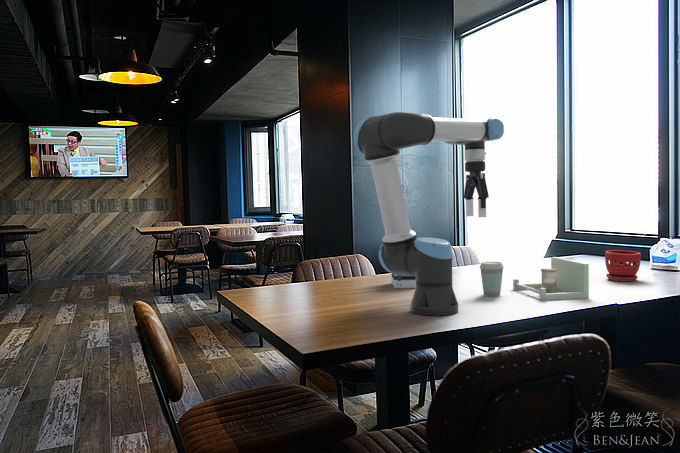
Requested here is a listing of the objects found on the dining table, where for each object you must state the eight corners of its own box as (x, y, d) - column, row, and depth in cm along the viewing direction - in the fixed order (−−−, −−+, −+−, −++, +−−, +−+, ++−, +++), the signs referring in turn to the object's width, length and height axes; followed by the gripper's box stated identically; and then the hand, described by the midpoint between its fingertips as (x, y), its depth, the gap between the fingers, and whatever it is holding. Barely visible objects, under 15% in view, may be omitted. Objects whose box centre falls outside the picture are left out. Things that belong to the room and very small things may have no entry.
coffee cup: (505, 297, 192) (504, 264, 191) (480, 297, 194) (480, 264, 193) (502, 293, 200) (502, 261, 200) (479, 293, 202) (478, 261, 202)
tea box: (419, 288, 217) (418, 252, 216) (394, 289, 217) (393, 252, 216) (414, 282, 232) (413, 248, 231) (391, 283, 232) (390, 249, 231)
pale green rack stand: (541, 300, 185) (541, 265, 184) (513, 289, 208) (512, 258, 207) (588, 297, 187) (588, 263, 186) (555, 287, 210) (555, 256, 209)
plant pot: (611, 282, 217) (611, 253, 216) (601, 277, 230) (600, 250, 229) (646, 282, 215) (646, 252, 214) (633, 277, 228) (633, 249, 227)
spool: (559, 294, 195) (559, 269, 194) (545, 295, 194) (545, 270, 194) (552, 291, 200) (552, 268, 200) (538, 292, 200) (538, 268, 199)
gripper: (497, 158, 192) (498, 217, 193) (473, 163, 217) (473, 215, 218) (477, 158, 192) (478, 218, 193) (455, 163, 216) (456, 216, 217)
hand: (475, 216), depth 205 cm, fingers open, 13 cm apart
